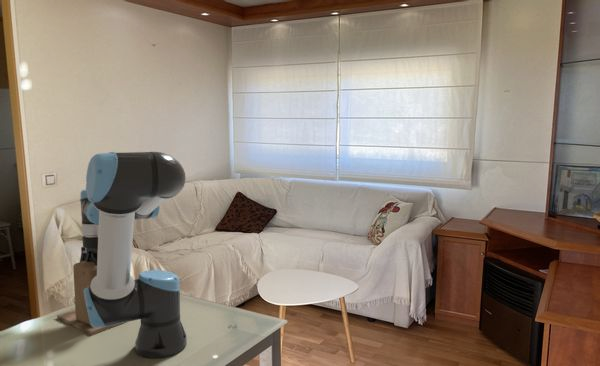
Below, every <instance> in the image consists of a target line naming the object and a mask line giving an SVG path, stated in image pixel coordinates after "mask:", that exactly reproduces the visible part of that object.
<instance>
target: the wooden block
mask: <svg viewBox="0 0 600 366" xmlns="http://www.w3.org/2000/svg"><path fill="white" fill-rule="evenodd" d="M72 270H73V285H74V286H73V288H74V290H73V291H74V305H75V307H74V309H75V312H76V319H77V320H79V321H81V322H84V323H86V324H89V325H90V321H89V317H88V312H87V307H86V302H85V297H84V289H85V288H87V287H90V285H91V281H92V279H93V278H94V277H95V276H97V265H95V263H94V262H93V261H88V262H87V261H83V262H80V261H79V262H75V263H74V264H73V267H72Z"/></svg>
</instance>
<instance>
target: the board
mask: <svg viewBox="0 0 600 366" xmlns="http://www.w3.org/2000/svg"><path fill="white" fill-rule="evenodd" d="M56 319H58V320H60V321H62V322H64V323H66V324H68V325H70V326H71V327H74V328H76V329H77V330H79V331H82V332H83V333H85V334H87V335H89V336H93V335H96V334H99V333H102V332H105V331H106V330H109V329H112V328H115V327H117V326H120V325H123V324H125V323H127V322H125V323H120V324H116V325H111V326H108V327H99V328H94V327H92V326H91V325H89V324H86V323H84V322H81V321H79V320H77V319H76V312H75V308H74V309H72V310H69V311H66V312H63V313H59V314H56Z"/></svg>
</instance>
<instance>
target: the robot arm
mask: <svg viewBox="0 0 600 366" xmlns="http://www.w3.org/2000/svg"><path fill="white" fill-rule="evenodd" d="M186 179H187V178H186V172H185V169H184V167H183V166H182V164H181V163H180V162H179V161H178V160H177V159H176V158H175V157H173V156H172V155H170V154H167V153H164V152H162V151H161V152H159V151H137V152H134V151H133V152H130V151H129V152H115V151H109V152H102V153H101V152H100V153H96V154H94V155H93V156H92V157H91V158H90V160H89V162H88V165H87V170H86V177H85V180H86V181H85V182H86V184H85V189H82V190H81V191H80V199H79V201H80V213H81V234H82V246H81V247H80V249H81V250H80V253H81V254H80V258H79V262H83V261H87V262H88V261H93V262H94V263H95V265H97V276H95V277H94V278H93V279H92V281H91V285H90V287H87V288H85V289H84V297H85V302H86V307H87V312H88V317H89V321H90V325H91V326H92V327H94V328H99V327H108V326H111V325H116V324H120V323H123V324H125V322H126V323H128V322H134V321H138V320H140V325H139V330H138V332H137V337H136V340H135V343H134V345H135V353H136V354H138V355H139V356H141V357H143V358H149V359H156V358H157V359H159V358H165V357H166V358H167V357H171V356H173V355H176V354H178V353H180V352H182V351H183V350H184V349H185V348H186V346H187V343H188V342H187V341H188V340H187V339H188V337H187V334H186V331H185V328H184V325H183V324H182V321H181V320H182V319H181V295H180V293H181V287H180V279H179V276H178V275H177V274H175V273H173V272H171V271H167V270H159V269H152V270H146V271H141V272H140V273H139V274H138V275H139V276H138V277H137V279H136V278H135V279H134V277H133V275H131V268H132V266H131V265H132V253H133V242H134V241H133V240H134V230H135V229H134V228H135V220H143V219H145V220H149V219H152V218H156V217H158V216H159V212H160V205H161V204H162V203H163V202H165V201H166V200H167V199H171V198H173V197H176V196H177V195H178V194H179V193H180V192H181V191H182V190H183V189H184V187H185V184H186ZM120 325H121V324H120Z"/></svg>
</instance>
